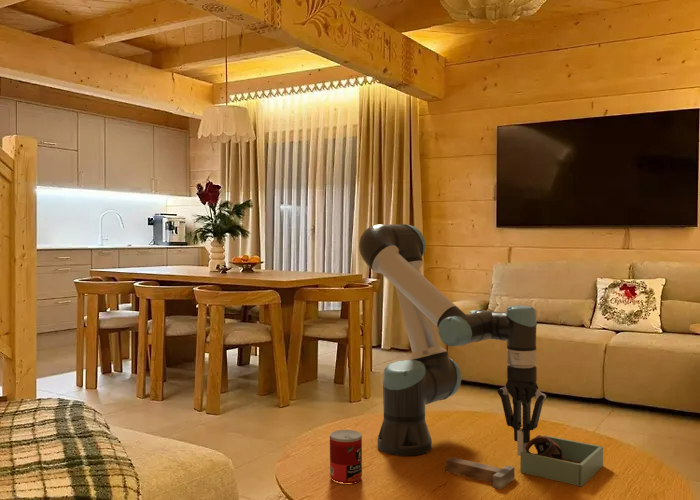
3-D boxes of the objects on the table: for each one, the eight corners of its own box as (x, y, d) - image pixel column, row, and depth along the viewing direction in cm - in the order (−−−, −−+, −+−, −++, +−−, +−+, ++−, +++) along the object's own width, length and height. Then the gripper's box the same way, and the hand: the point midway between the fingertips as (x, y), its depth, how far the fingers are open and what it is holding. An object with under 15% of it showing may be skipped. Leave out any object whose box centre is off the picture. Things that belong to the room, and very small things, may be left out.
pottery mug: (573, 472, 163) (561, 447, 161) (539, 488, 164) (526, 463, 162) (557, 445, 174) (545, 421, 172) (524, 459, 175) (513, 436, 173)
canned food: (351, 487, 154) (351, 441, 153) (323, 480, 158) (323, 436, 157) (368, 476, 160) (367, 432, 160) (340, 470, 164) (340, 427, 164)
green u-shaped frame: (520, 472, 162) (520, 452, 162) (545, 453, 175) (545, 435, 175) (582, 486, 153) (582, 465, 153) (603, 465, 166) (603, 446, 166)
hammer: (440, 475, 161) (440, 463, 161) (455, 465, 168) (455, 454, 168) (501, 490, 152) (501, 477, 152) (514, 479, 158) (514, 467, 158)
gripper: (492, 364, 171) (492, 453, 172) (540, 370, 163) (540, 463, 164) (504, 360, 177) (504, 445, 178) (551, 365, 169) (551, 455, 170)
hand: (522, 454), depth 171 cm, fingers closed
